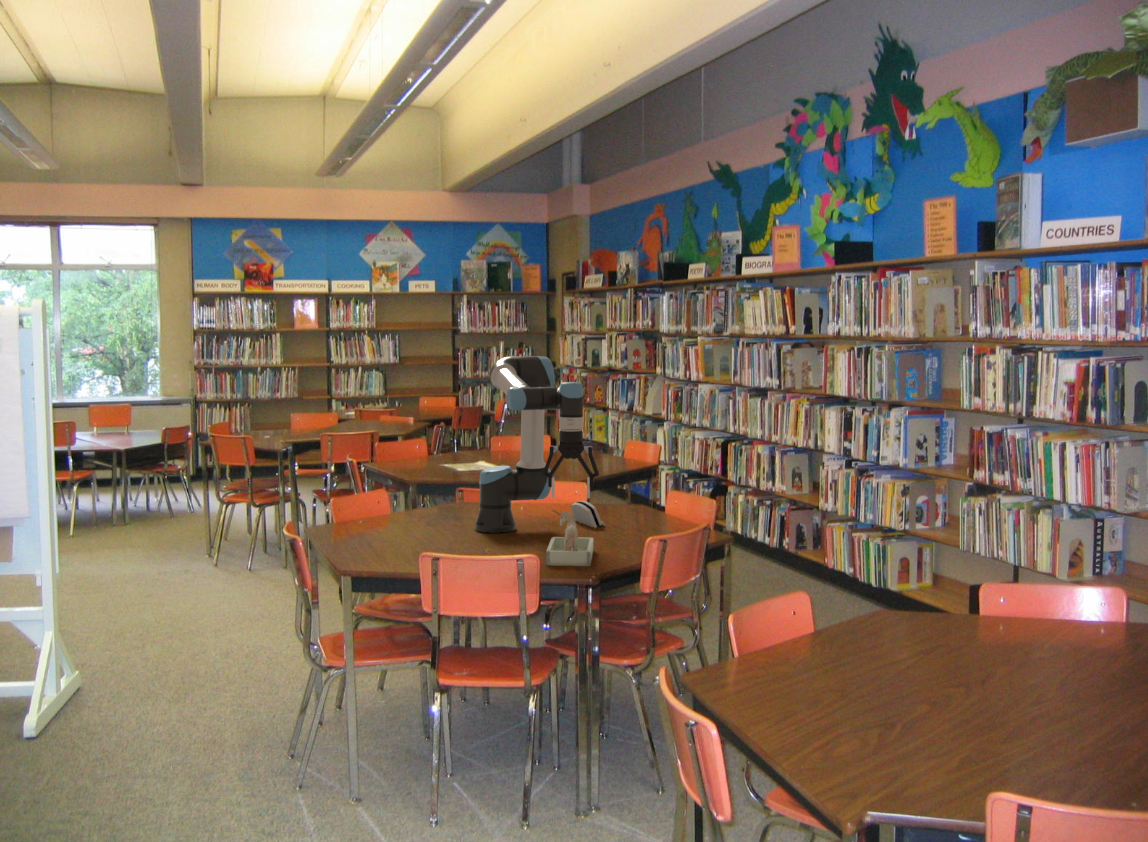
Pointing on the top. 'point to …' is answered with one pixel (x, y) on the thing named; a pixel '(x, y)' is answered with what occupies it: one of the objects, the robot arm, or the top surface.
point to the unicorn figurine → (569, 530)
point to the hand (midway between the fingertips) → (570, 497)
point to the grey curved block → (586, 514)
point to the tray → (569, 552)
